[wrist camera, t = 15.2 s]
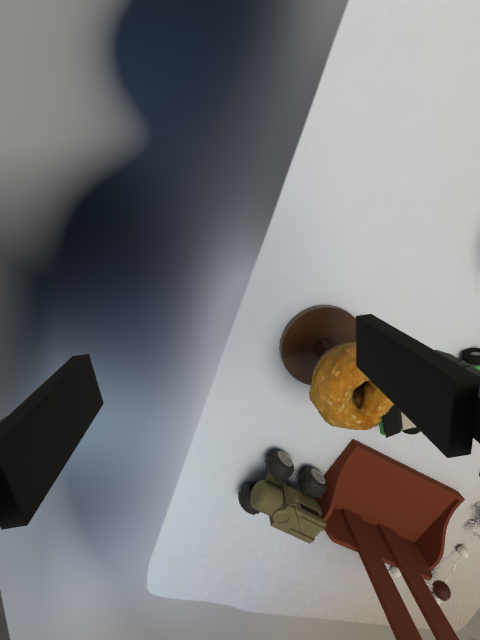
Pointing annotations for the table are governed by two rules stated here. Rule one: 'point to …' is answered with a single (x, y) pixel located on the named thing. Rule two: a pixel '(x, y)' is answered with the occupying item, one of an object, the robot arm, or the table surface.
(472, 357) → the toy car
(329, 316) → the pedestal
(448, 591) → the molecular model
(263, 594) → the table surface
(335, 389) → the bagel
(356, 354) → the robot arm
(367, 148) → the table surface
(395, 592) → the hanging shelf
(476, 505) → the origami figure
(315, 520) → the toy vehicle
